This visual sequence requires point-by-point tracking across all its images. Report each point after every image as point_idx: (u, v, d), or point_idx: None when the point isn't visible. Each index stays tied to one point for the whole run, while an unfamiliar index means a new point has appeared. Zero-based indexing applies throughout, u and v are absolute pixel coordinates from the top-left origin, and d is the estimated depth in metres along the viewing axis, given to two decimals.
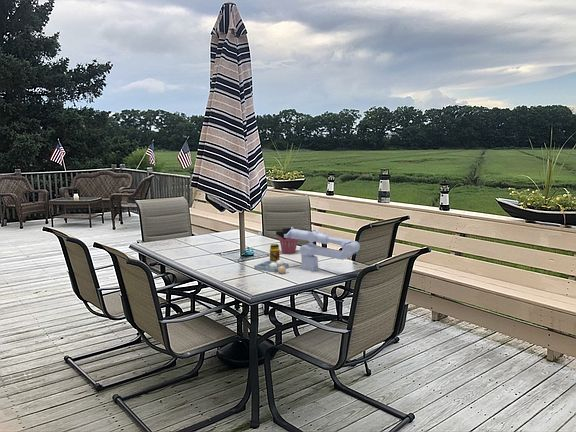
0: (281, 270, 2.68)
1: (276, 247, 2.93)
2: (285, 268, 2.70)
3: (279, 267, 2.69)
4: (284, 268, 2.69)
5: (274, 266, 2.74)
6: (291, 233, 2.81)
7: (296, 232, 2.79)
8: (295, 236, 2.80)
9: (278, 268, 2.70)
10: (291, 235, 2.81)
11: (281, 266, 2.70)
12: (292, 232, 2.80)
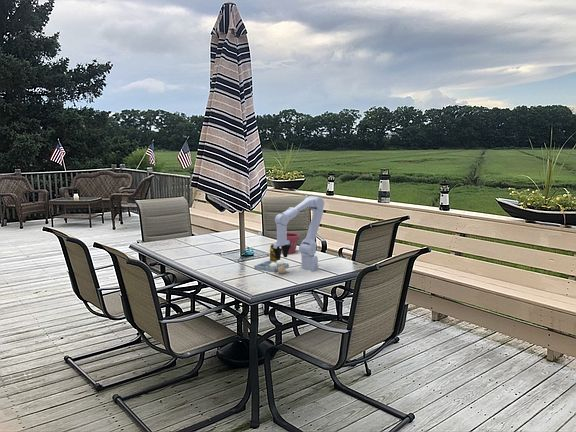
0: (281, 270, 2.68)
1: None
2: (285, 268, 2.70)
3: (279, 267, 2.69)
4: (284, 268, 2.69)
5: (274, 266, 2.74)
6: None
7: None
8: None
9: (278, 268, 2.70)
10: None
11: (281, 266, 2.70)
12: None
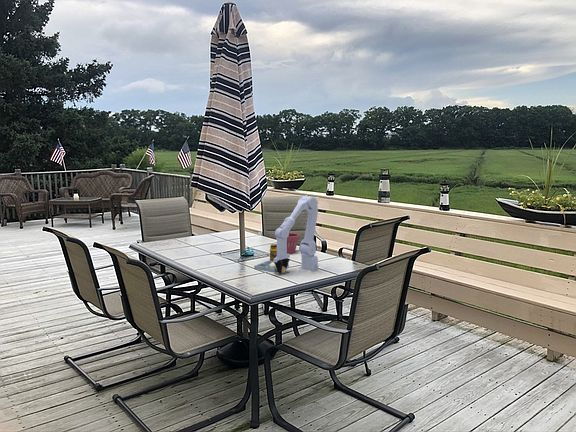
0: None
1: (276, 247, 2.93)
2: (285, 268, 2.70)
3: None
4: (284, 268, 2.69)
5: (274, 266, 2.74)
6: None
7: None
8: None
9: None
10: None
11: None
12: None
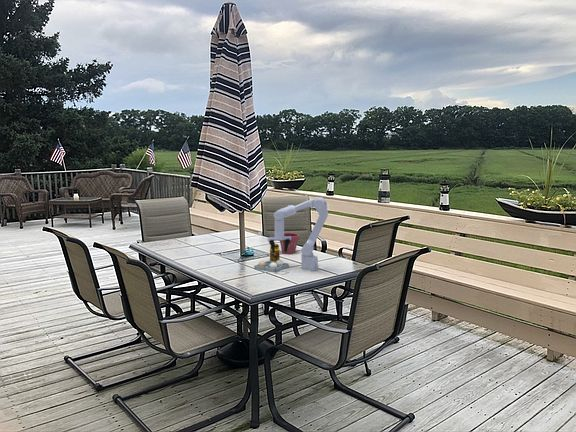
0: None
1: (276, 247, 2.93)
2: (264, 263, 2.78)
3: None
4: (262, 264, 2.77)
5: (274, 266, 2.74)
6: (284, 236, 2.82)
7: (283, 231, 2.80)
8: None
9: (258, 264, 2.80)
10: None
11: (260, 262, 2.78)
12: (283, 235, 2.81)
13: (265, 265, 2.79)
